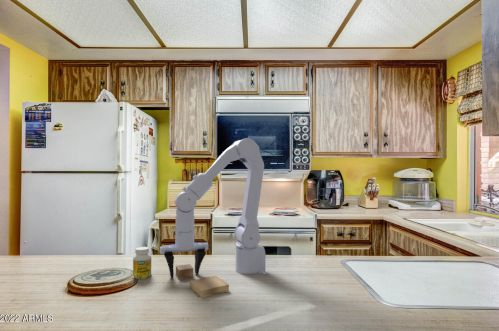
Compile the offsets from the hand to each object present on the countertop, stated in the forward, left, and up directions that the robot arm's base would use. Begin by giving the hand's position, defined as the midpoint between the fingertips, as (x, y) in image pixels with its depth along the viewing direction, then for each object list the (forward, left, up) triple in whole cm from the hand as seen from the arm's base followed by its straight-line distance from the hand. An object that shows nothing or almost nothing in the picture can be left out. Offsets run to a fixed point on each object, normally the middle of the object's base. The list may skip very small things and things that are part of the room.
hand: (184, 274), depth 95 cm
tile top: (-4, +13, 0) cm, 13 cm away
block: (0, 0, -2) cm, 2 cm away
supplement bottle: (+12, -5, -2) cm, 13 cm away
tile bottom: (-4, +13, -2) cm, 14 cm away
